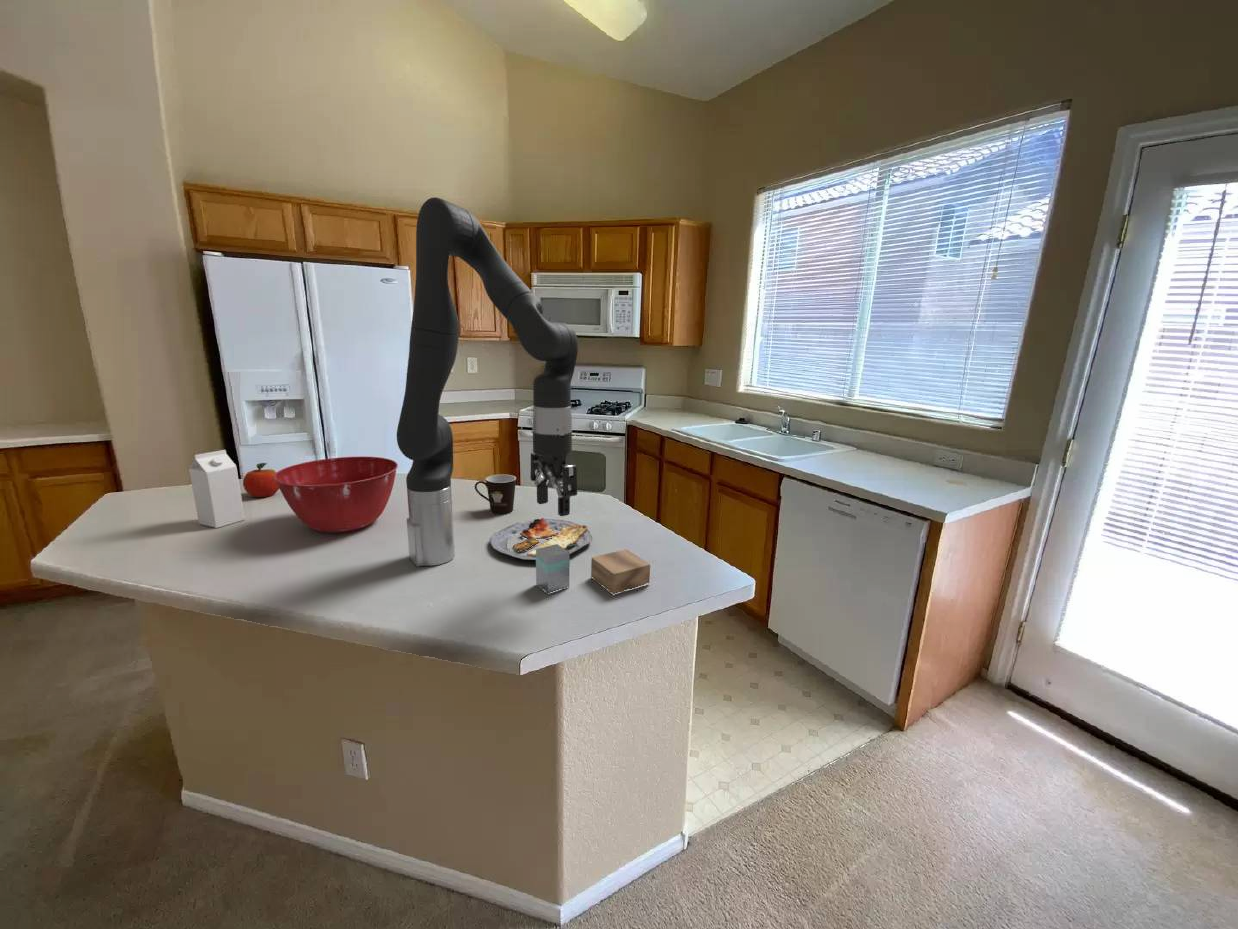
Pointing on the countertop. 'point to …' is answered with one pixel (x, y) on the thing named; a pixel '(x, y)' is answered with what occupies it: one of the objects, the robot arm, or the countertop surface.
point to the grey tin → (552, 568)
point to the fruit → (260, 482)
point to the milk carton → (216, 489)
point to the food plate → (541, 536)
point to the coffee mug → (500, 493)
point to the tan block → (620, 571)
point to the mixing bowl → (338, 491)
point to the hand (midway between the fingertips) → (552, 509)
